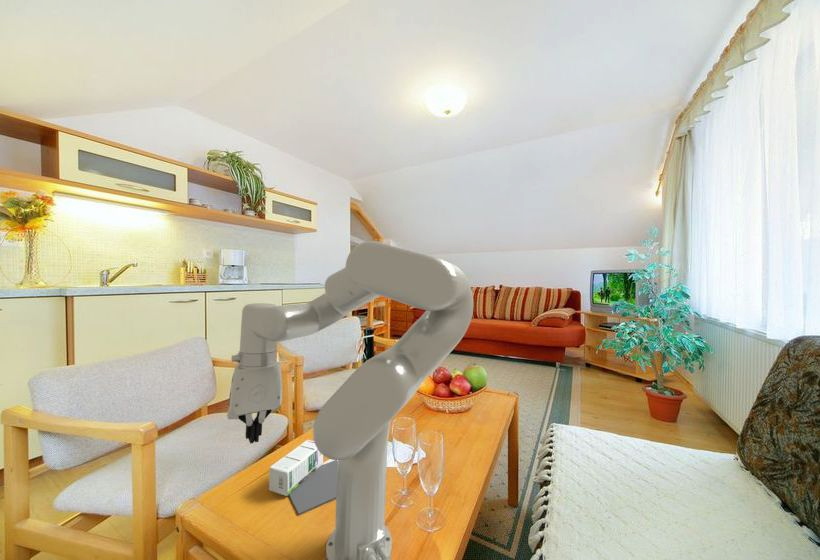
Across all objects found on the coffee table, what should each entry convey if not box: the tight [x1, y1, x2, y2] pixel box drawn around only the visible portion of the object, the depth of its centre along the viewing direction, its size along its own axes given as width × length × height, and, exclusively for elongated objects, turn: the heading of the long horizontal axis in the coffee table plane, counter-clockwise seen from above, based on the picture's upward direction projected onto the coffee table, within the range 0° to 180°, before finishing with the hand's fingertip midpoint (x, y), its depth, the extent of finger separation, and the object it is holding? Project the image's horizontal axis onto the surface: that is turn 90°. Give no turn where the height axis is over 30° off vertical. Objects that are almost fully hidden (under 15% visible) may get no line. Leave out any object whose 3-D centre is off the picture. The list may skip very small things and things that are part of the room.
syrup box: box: [268, 439, 324, 497], centre depth 77 cm, size 6×6×14 cm
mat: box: [288, 460, 338, 516], centre depth 75 cm, size 14×15×1 cm
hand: (253, 439), depth 66 cm, fingers closed
